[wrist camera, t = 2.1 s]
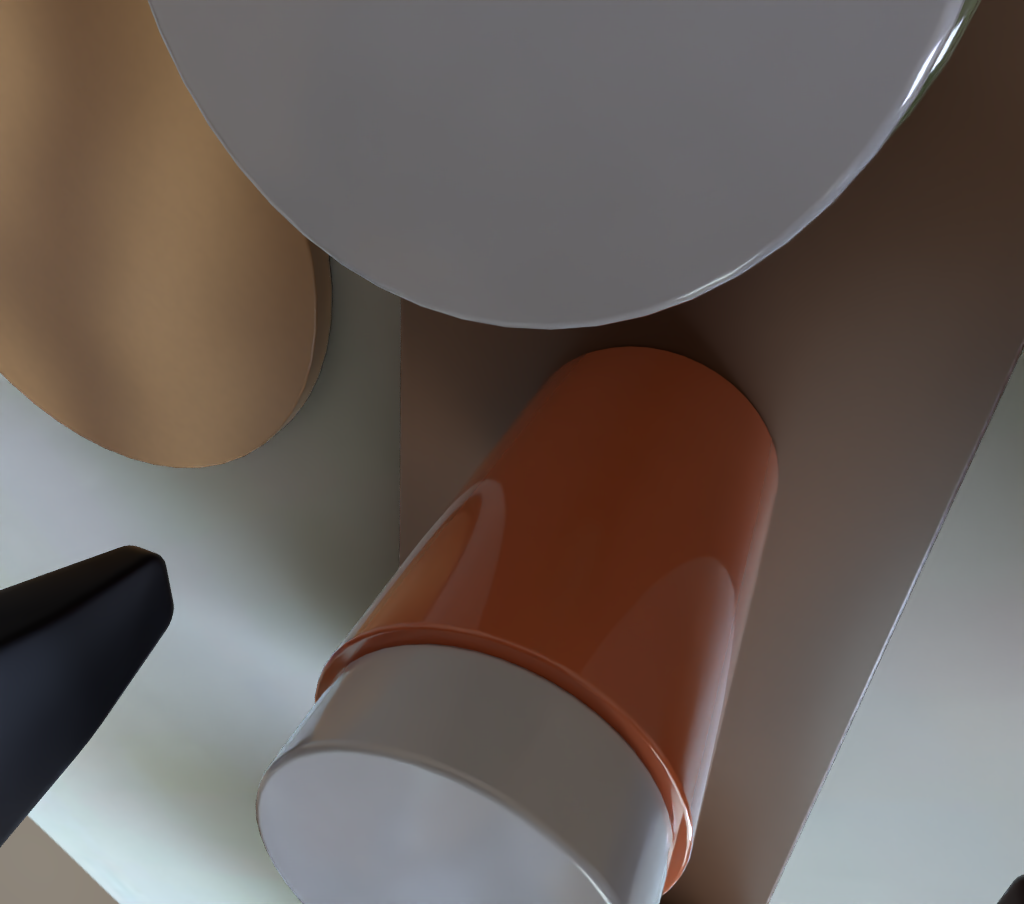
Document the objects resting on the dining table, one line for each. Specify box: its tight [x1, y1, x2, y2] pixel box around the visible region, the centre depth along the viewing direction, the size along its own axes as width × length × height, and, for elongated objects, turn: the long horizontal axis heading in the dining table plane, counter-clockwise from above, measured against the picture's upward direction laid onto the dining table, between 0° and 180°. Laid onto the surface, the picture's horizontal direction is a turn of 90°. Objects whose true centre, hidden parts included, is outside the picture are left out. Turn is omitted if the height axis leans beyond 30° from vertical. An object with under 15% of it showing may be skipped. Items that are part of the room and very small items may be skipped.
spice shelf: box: [399, 0, 1024, 904], centre depth 12 cm, size 8×23×6 cm, turn 175°
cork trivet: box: [0, 0, 332, 468], centre depth 18 cm, size 11×11×1 cm
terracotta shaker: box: [256, 346, 779, 904], centre depth 10 cm, size 4×4×7 cm
